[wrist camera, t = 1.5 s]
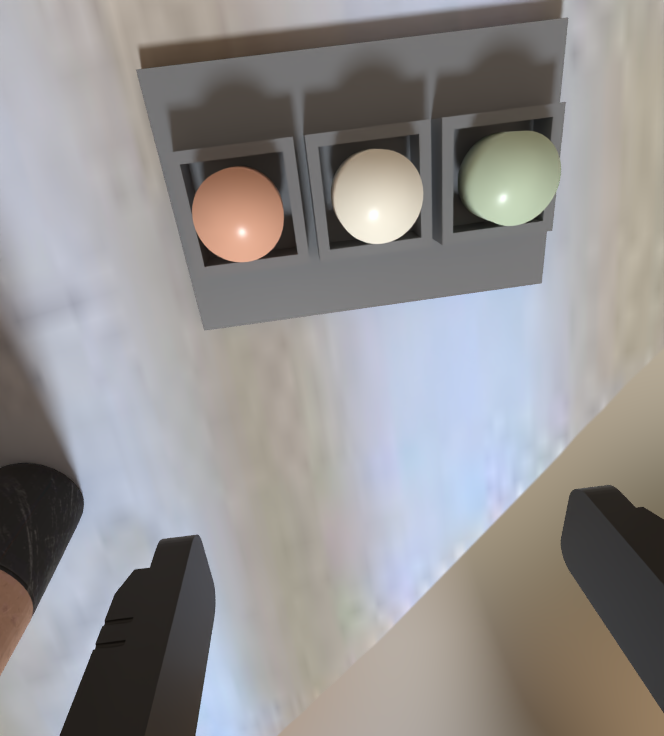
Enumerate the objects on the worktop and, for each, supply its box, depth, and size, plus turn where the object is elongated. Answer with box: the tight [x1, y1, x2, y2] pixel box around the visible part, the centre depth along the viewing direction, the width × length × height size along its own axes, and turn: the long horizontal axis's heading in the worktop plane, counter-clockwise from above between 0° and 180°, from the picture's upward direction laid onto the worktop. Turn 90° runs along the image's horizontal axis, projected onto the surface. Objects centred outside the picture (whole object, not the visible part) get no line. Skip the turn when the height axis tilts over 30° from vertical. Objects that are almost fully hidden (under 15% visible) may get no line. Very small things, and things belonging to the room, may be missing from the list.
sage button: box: [458, 131, 561, 226], centre depth 24 cm, size 4×4×2 cm
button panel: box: [136, 18, 568, 330], centre depth 25 cm, size 14×22×3 cm, turn 96°
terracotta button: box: [192, 166, 284, 262], centre depth 23 cm, size 4×4×2 cm
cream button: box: [331, 149, 423, 244], centre depth 23 cm, size 4×4×2 cm
